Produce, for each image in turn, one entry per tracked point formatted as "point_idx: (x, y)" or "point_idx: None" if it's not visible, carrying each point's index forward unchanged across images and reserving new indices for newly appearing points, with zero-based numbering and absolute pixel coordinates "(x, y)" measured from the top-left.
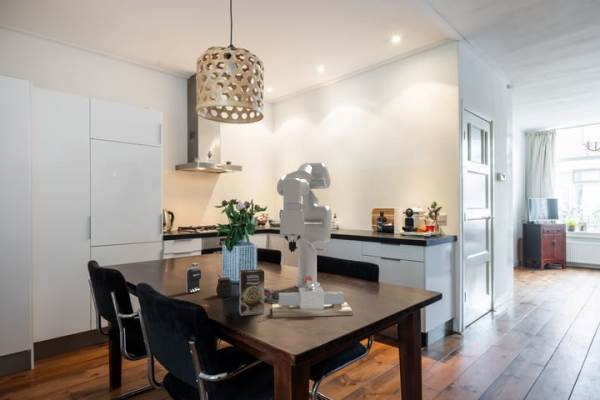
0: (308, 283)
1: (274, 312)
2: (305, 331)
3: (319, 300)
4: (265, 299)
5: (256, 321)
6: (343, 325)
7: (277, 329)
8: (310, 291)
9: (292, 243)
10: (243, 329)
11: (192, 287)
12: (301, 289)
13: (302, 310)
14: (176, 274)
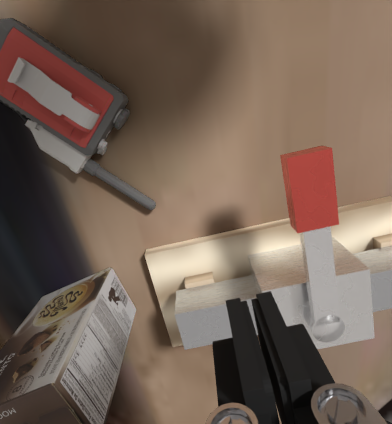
0: (315, 306)
1: (176, 338)
2: (278, 414)
3: None
4: (90, 174)
5: (135, 370)
6: (379, 369)
7: (207, 411)
8: (316, 347)
9: (276, 381)
10: (122, 421)
11: None
12: None
13: None
14: None
